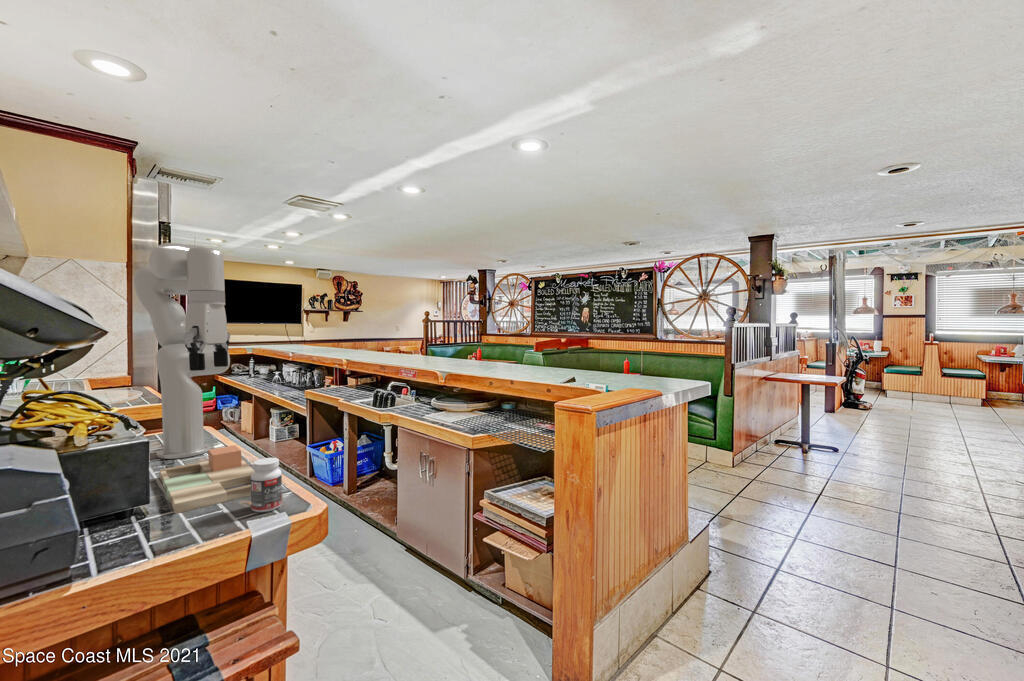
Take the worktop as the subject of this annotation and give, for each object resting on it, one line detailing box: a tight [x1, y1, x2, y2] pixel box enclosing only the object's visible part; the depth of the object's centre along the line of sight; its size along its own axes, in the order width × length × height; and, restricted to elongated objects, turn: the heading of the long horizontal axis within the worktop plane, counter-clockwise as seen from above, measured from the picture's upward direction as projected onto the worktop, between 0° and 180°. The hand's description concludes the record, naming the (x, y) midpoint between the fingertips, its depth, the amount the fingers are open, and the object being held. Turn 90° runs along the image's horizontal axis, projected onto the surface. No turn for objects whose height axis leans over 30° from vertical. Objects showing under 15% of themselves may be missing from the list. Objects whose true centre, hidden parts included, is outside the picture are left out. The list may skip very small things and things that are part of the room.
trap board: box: [158, 457, 255, 514], centre depth 107 cm, size 27×17×2 cm, turn 43°
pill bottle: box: [250, 457, 283, 513], centre depth 94 cm, size 6×6×10 cm
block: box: [207, 445, 242, 471], centre depth 114 cm, size 6×6×4 cm
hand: (209, 368), depth 111 cm, fingers open, 9 cm apart
